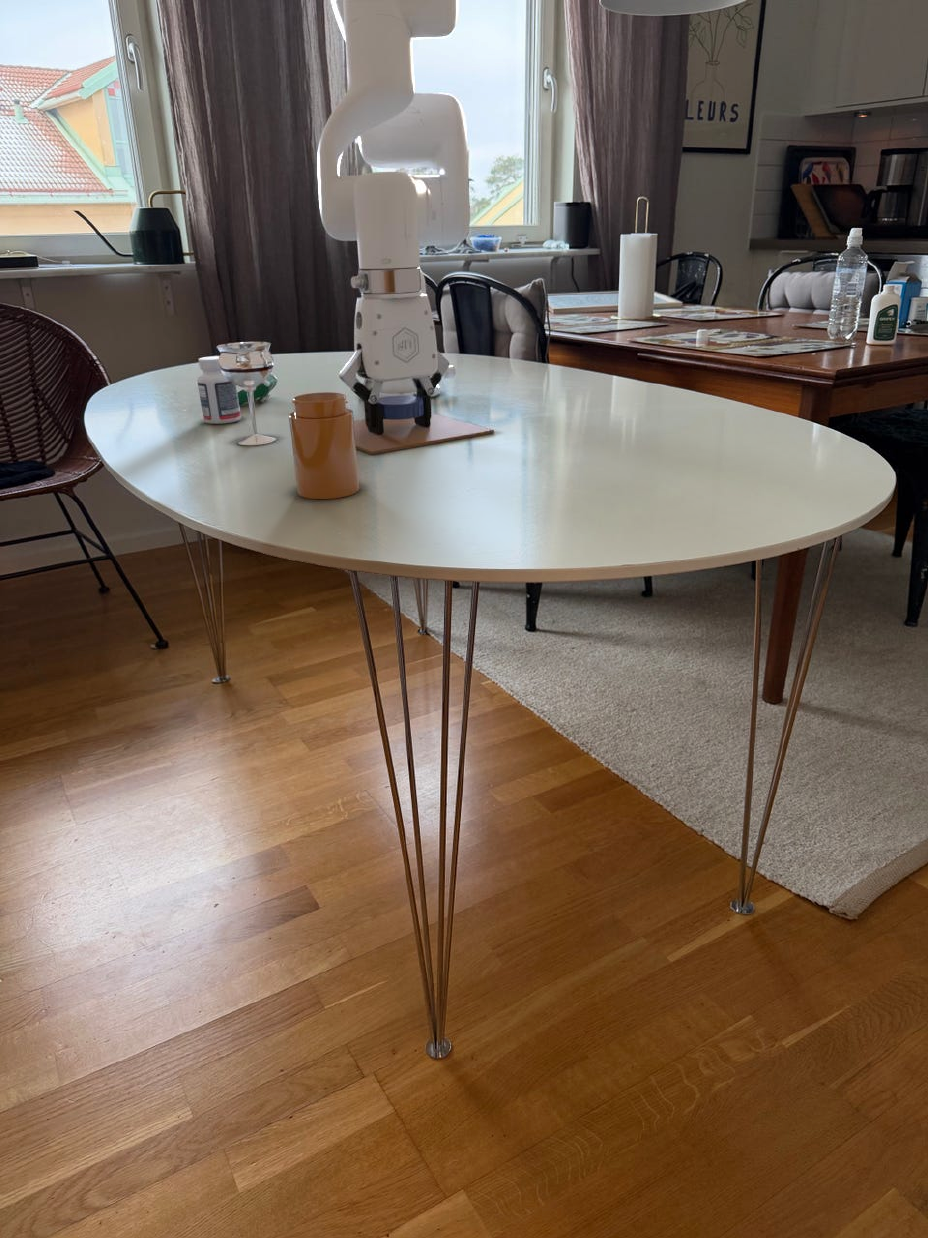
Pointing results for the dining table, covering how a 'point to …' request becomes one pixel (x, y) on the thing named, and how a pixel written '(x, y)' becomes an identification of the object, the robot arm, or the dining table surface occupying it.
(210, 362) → the pill bottle
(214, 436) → the dining table surface
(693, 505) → the dining table surface
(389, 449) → the mat
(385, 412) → the lid
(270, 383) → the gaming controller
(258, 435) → the wineglass
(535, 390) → the dining table surface
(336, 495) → the jar
